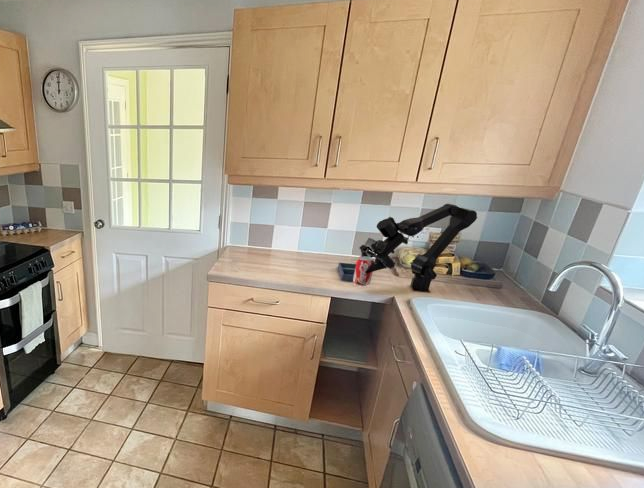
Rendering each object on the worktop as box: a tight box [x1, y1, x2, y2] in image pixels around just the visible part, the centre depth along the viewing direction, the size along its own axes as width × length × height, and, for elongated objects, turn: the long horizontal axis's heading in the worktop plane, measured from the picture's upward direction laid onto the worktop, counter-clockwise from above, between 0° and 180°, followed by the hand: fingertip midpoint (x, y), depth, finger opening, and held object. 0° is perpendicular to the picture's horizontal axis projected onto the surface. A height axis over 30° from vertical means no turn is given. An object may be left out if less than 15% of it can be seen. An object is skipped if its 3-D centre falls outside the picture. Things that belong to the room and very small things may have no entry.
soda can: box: [353, 256, 375, 287], centre depth 180 cm, size 7×7×12 cm
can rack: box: [337, 262, 356, 283], centre depth 204 cm, size 10×19×3 cm, turn 163°
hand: (360, 270), depth 180 cm, fingers closed on soda can, 7 cm apart
